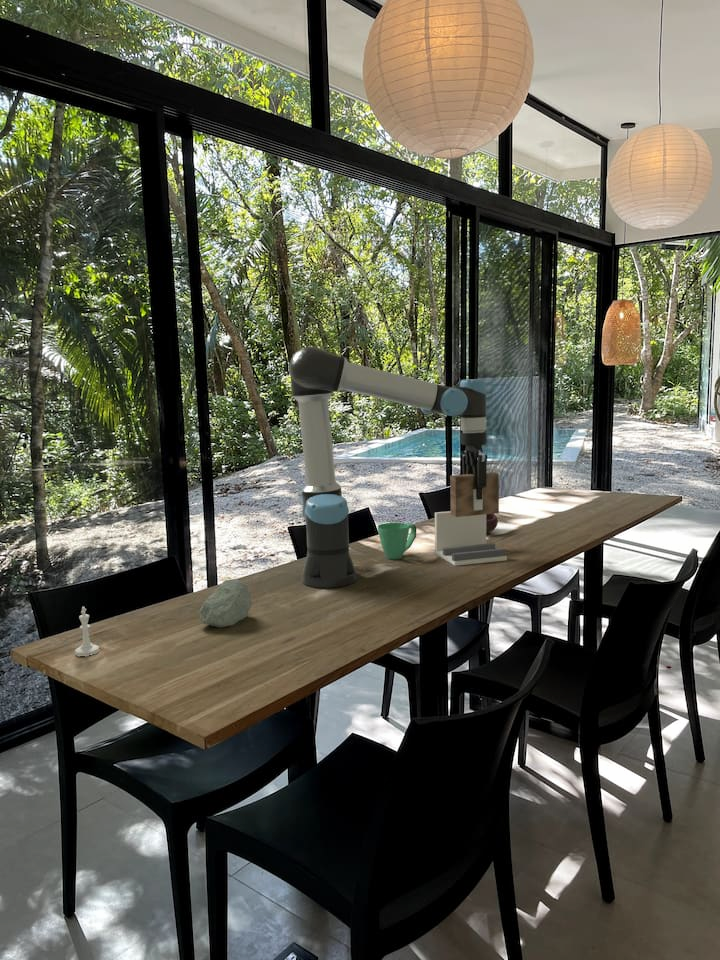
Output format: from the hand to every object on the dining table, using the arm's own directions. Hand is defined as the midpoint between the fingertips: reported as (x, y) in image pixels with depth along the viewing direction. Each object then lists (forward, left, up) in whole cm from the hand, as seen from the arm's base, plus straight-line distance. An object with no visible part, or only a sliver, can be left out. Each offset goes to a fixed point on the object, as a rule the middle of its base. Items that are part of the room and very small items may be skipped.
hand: (474, 508), depth 216 cm
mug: (-20, +12, -16) cm, 28 cm away
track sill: (0, +3, -16) cm, 16 cm away
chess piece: (-108, -39, -16) cm, 116 cm away
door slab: (0, 0, -2) cm, 2 cm away
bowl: (+16, +33, -16) cm, 40 cm away
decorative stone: (-78, -30, -16) cm, 85 cm away
